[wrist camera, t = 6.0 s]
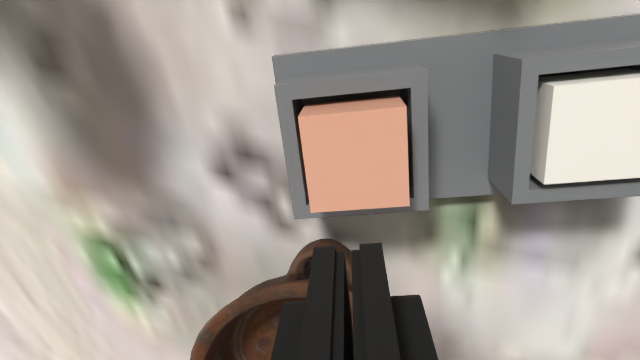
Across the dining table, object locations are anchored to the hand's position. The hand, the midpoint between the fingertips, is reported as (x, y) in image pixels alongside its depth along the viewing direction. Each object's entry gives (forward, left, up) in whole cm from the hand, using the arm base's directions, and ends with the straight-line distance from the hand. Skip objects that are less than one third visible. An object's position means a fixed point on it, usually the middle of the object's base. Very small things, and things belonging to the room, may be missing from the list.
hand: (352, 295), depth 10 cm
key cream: (-10, -7, -14) cm, 19 cm away
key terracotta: (0, 0, -13) cm, 13 cm away
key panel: (-5, -4, -17) cm, 18 cm away
